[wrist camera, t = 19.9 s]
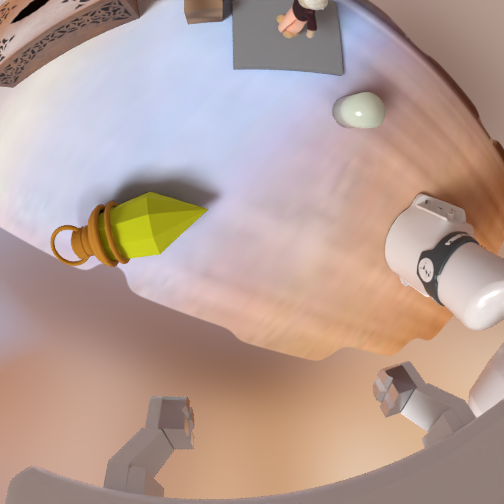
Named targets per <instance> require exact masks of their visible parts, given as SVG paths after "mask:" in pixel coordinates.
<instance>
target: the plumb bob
mask: <svg viewBox="0 0 504 504" xmlns="http://www.w3.org/2000/svg"><path fill="white" fill-rule="evenodd" d="M111 207H113V208H111ZM207 210H208V209H206V208H203V207H200V206H196V205H193V204H190V203H187V202H183V201H180V200H177V199H173V198H170V197H167V196H163V195H160V194H157V193H153V192H148V193H145V194H143V195H140V196H138V197H136V198H133V199H131V200H129V201H126V202H124V203H122V204H120V205H118V204H117V203H116V202H114V201H110V202H108V203H107V205H106V206H104V205H98V206H96V208H95V209H94V210H93V211H92V213H91V215H90V217H89V220H88V225H87V226H85V227H81V228H77V227H75V226H71V225H64V226H61V227H59V228H57V229H56V230H55V231H54V232H53V234H52V236H51V248H52V251H53V253H54V255H55V256H56V257H57V258H58V259H59V260H60V261H61V262H63V263H65V264H67V265H72V266H77V265H81V264H83V263H85V262H86V261H87V260H88V259H89V257H90V256H94V255H95V256H96V257H97V259H98V260H99V261H100V262H102V263H103V264H105V265H108V266H110V267H115V266H116V265H117V264H118V263H119V262H120V263H122V264H126V263H128V262H129V260H130V258H136V257H144V256H151V255H158V254H161V253H162V252H163V251H164V250H165V249H166V248H167V247H168V246H169V245H170V244H171V243H172V242H173V241H175V240H176V239H177V238H178V237H179V236H180V235H181V234H182V233H183V232H184V231H185V230H186V229H187V228H189V227H190V226H191V225H192V224H193V223H194V222H195V221H196V220H197V219H198V218H200V217H201V216H202V215H203V214H204V213H205V212H206V211H207ZM62 230H73V233H72V237H71V246H72V249H73V251H74V253H75V254H76V255H77V256H78V257H79V258H80V259H82V260H80V261H75V262H73V261H68V260H66V259H64V258H62V257H61V256H60V255H59V254H58V252H57V251H56V249H55V245H54V240H55V237H56V235H57V234H58V233H59V232H60V231H62Z"/></svg>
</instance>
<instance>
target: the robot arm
mask: <svg viewBox="0 0 504 504" xmlns="http://www.w3.org/2000/svg"><path fill="white" fill-rule="evenodd" d="M425 201H426V203H425ZM385 256H386V261H387V264H388V266H389V267H390V269H391V270H392V271H393V272H395V273H396V274H397V275H398V276H399V278H400V281H401V283H402V284H403V285H404V286H410V285H411V286H412V287H414V288H415V289H416V290H418V291H419V292H420V293H422V294H423V295H425V296H427V297H429V296H431V298H432V299H433V300H434V301H435V302H437V303H439V304H440V305H442V306H446V307H447V308H448V309H449V310H450V311H451V312H452V313H453V314H454V315H455V316H456V317H457V318H458V319H459V320H460V321H461V322H462V323H463V324H464V325H465V326H466V327H468V328H470V329H472V330H484V329H488V328H490V327H492V326H494V325H496V324H497V323H499V322H501V321H502V320H504V258H501V257H499V256H498V255H496V254H494V253H492V252H490V251H488V250H486V249H485V247H484V248H483V247H482V245H481V246H480V245H479V243H478V242H477V241H476V239H475V238H474V229H473V226H472V225H471V224H469V223H467V222H466V215H465V211H464V209H462V208H460V207H458V206H455V205H453V204H450V203H447V202H445V201H442V200H439V199H437V198H434V197H431V196H428V195H425V194H422V193H420V194H418V195H417V196H416V198H415V199H414V201H413V203H412V204H411V206H410V207H409V208H408V209H406V210H405V211H404V212H402V213H401V214H400V215H399V216H398V218H397V219H396V220H395V222H394V223H393V225H392V227H391V228H390V231H389V233H388V236H387V240H386V245H385ZM378 377H379V378H378V379H377V380H376V381H375V382H374V385H373V393H374V396H375V398H376V400H378V401H379V402H381V405H380V408H381V410H382V412H383V414H384V415H385V417H389V416H392V415H394V414H397V413H400V412H401V414H403V415H404V416H405V417H407V418H408V419H410V420H411V421H413V422H414V423H416V424H417V425H419V426H420V427H421V428H423V429H424V430H426V431H427V432H428V433H427V434H426V435H425V436H424V438H423V439H422V443H423V445H424V446H425V449H423V450H421V451H418V452H416V453H414V454H412V455H410V456H408V457H406V458H403V459H401V460H399V461H396V462H394V463H392V464H389V465H387V466H384V467H381V468H379V469H376V470H374V471H371V472H368V473H365V474H362V475H359V476H356V477H353V478H349V479H346V480H343V481H339V482H336V483H332V484H328V485H324V486H319V487H315V488H311V489H306V490H301V491H296V492H290V493H284V494H277V495H270V496H261V497H251V498H240V499H239V498H238V499H180V498H179V499H178V498H165V497H164V488H163V487H162V486H161V485H160V484H159V483H158V482H157V481H156V480H155V479H154V477H155V475H156V474H157V473H158V471H159V470H160V469H161V468H162V466H163V465H164V463H165V462H166V461H167V459H168V458H169V456H170V455H171V454H172V452H173V451H174V449H194V435H193V432H192V430H193V428H194V413H193V409H192V407H190V401H189V398H188V397H165V396H164V397H163V396H152V397H151V398H150V401H149V407H148V413H147V419H146V426H145V428H141V429H140V430H139V431H138V432H137V433H136V434H135V435H134V436H133V437H132V438H131V439H130V440H129V441H128V442H127V443H126V444H125V445H124V446H123V447H122V448H121V449H120V450H119V451H118V452H117V453H116V454H115V455H114V456H113V457H112V458H111V459H110V460H109V461H108V465H107V470H106V476H105V482H104V487H99V486H95V485H92V484H88V483H84V482H81V481H77V480H74V479H71V478H68V477H65V476H62V475H59V474H56V473H53V472H51V471H48V470H45V469H42V468H40V467H37V466H30V467H28V468H26V469H25V470H23V471H22V472H20V473H19V474H17V475H16V476H15V477H14V478H12V480H11V481H10V484H9V487H8V492H7V497H6V502H5V504H504V343H503V344H502V345H501V347H500V348H499V350H498V351H497V352H496V353H495V354H494V356H493V357H492V358H491V359H490V361H489V362H488V363H487V365H486V367H485V369H484V370H483V371H482V373H481V374H480V376H479V378H478V379H477V381H476V382H475V384H474V385H473V387H472V388H471V390H470V392H469V400H468V405H467V403H466V402H465V400H463V399H461V398H458V397H456V396H454V395H452V394H450V393H447V392H445V391H443V390H441V389H439V388H437V387H435V386H433V385H431V384H429V383H428V384H426V383H425V382H424V380H423V379H422V377H421V376H420V375H419V373H418V372H417V370H416V369H415V368H414V366H413V365H412V363H411V362H409V361H407V362H404V363H401V364H396V365H393V366H390V367H387V368H383V369H381V370H380V371H379V372H378Z"/></svg>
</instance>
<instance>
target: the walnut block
mask: <svg viewBox="0 0 504 504" xmlns="http://www.w3.org/2000/svg"><path fill="white" fill-rule="evenodd" d="M184 13H185V16H186V19H187V23H188V24H196V23H206V22H220V21H222V18H223V0H184Z"/></svg>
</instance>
